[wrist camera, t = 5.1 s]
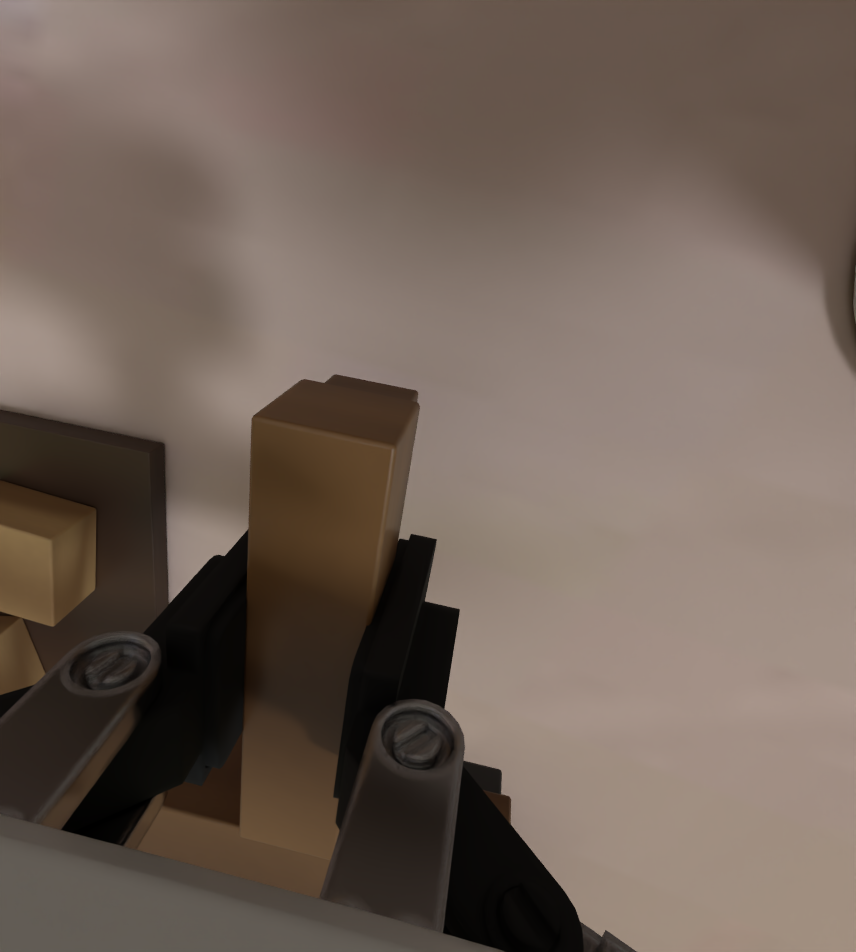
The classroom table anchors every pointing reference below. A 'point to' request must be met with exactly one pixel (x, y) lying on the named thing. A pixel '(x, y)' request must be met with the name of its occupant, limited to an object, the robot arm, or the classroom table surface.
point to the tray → (97, 521)
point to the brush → (303, 631)
